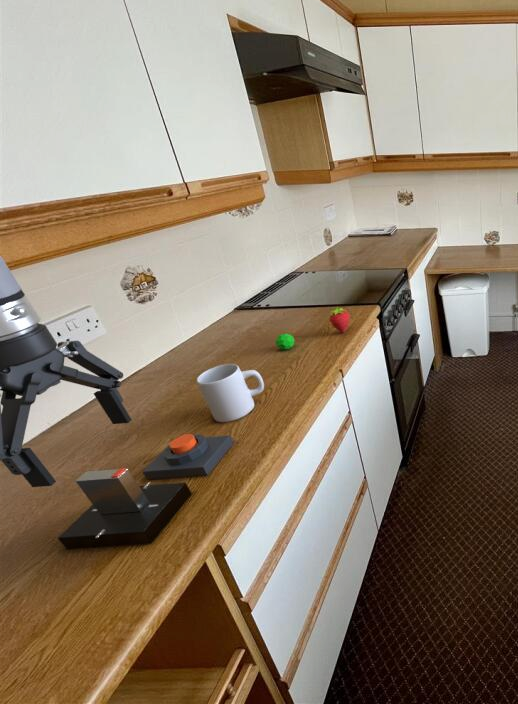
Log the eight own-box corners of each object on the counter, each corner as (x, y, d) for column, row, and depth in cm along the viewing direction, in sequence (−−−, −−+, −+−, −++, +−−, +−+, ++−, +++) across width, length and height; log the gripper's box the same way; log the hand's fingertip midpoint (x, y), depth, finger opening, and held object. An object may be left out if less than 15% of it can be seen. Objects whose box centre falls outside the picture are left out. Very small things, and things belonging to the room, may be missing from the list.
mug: (213, 427, 94) (194, 388, 89) (215, 409, 100) (197, 371, 95) (271, 407, 99) (256, 369, 94) (269, 391, 106) (254, 355, 101)
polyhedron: (299, 346, 127) (294, 333, 125) (284, 353, 123) (279, 340, 121) (290, 343, 130) (286, 329, 128) (275, 350, 126) (270, 336, 124)
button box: (146, 479, 80) (137, 464, 78) (178, 447, 88) (171, 432, 87) (207, 475, 80) (199, 460, 79) (234, 443, 88) (227, 428, 87)
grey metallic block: (100, 514, 69) (74, 479, 66) (110, 504, 71) (85, 470, 68) (140, 511, 69) (117, 476, 66) (149, 501, 71) (127, 467, 68)
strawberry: (354, 326, 138) (347, 299, 134) (352, 336, 131) (344, 307, 127) (335, 329, 137) (328, 302, 132) (332, 339, 130) (324, 311, 126)
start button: (168, 455, 81) (164, 448, 80) (182, 441, 85) (178, 434, 84) (188, 453, 81) (184, 447, 80) (201, 439, 85) (198, 433, 84)
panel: (63, 553, 67) (52, 540, 65) (120, 496, 77) (112, 484, 75) (148, 546, 67) (139, 534, 65) (194, 491, 77) (187, 479, 75)
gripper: (-86, 383, 44) (29, 516, 53) (110, 295, 67) (167, 400, 76) (-155, 388, 44) (-27, 521, 53) (64, 299, 67) (127, 403, 76)
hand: (87, 450), depth 65 cm, fingers open, 13 cm apart
